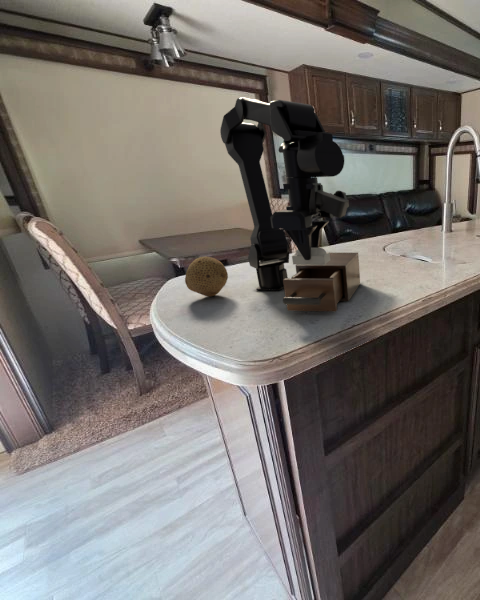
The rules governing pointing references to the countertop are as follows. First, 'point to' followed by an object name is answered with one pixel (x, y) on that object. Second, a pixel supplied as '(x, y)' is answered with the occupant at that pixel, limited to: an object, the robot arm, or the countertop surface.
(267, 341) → the countertop surface
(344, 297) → the cabinet
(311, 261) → the cream lumpy block
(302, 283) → the drawer
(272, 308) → the countertop surface
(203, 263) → the natural sponge
